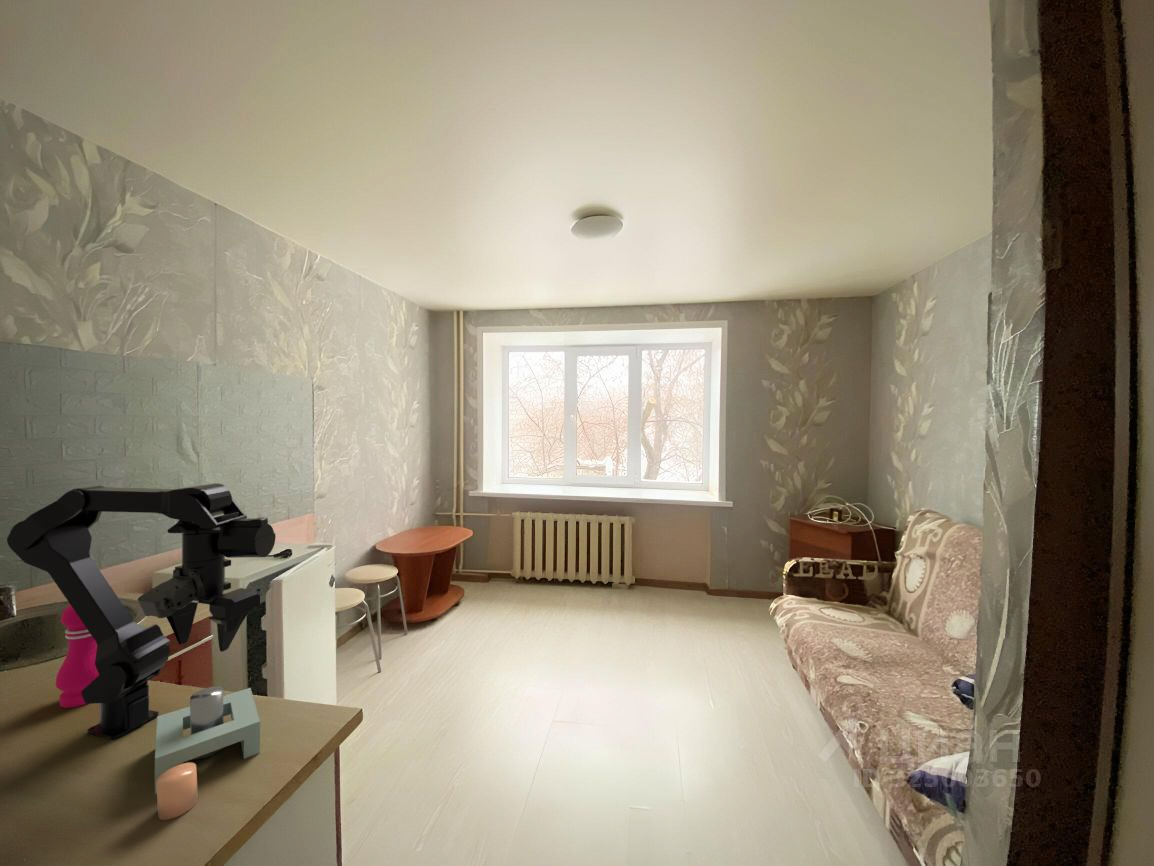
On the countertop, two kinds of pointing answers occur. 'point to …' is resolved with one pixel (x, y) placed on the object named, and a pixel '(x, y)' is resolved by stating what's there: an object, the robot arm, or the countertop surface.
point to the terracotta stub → (177, 791)
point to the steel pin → (206, 711)
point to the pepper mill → (76, 661)
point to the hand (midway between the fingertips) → (203, 647)
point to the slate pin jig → (207, 733)
